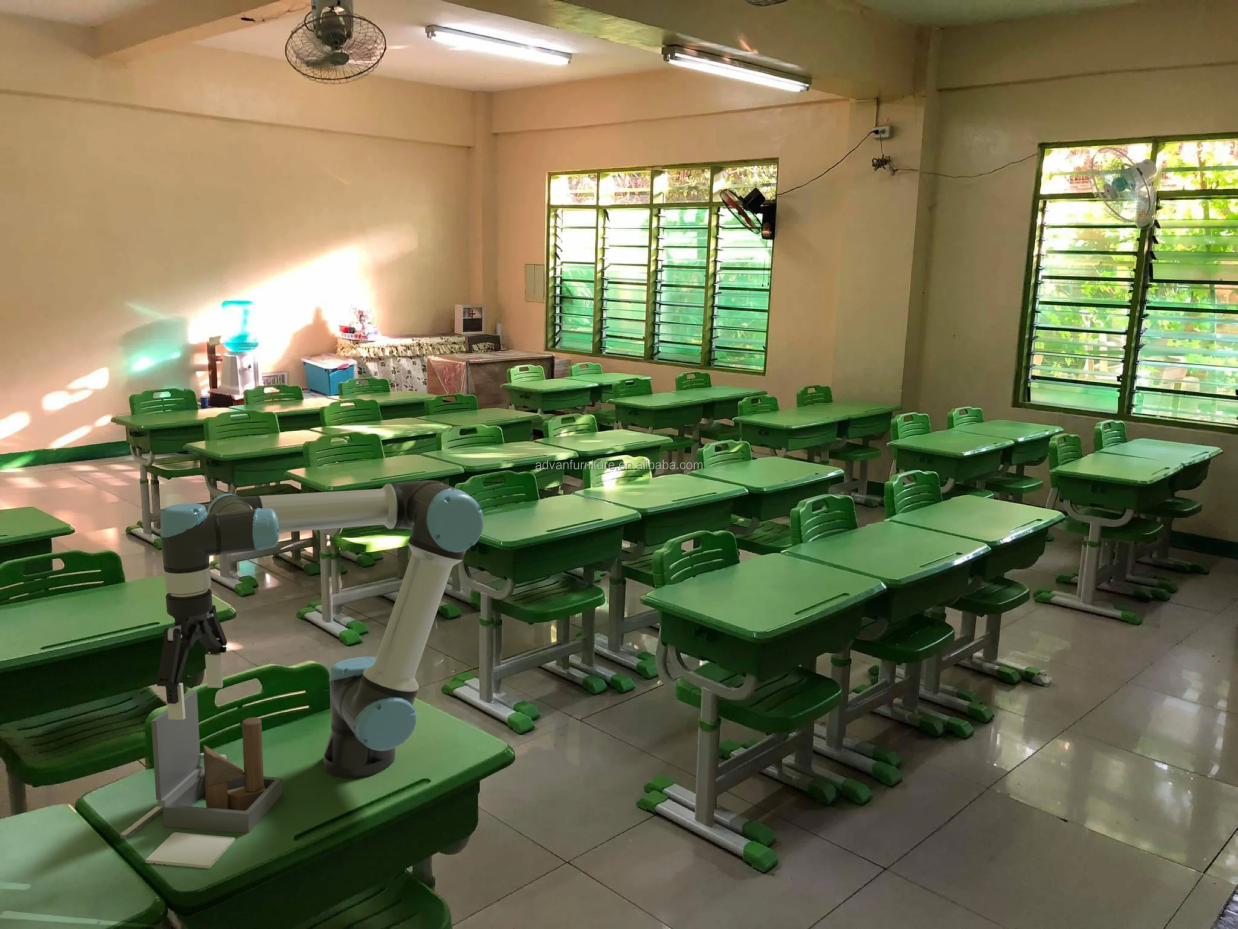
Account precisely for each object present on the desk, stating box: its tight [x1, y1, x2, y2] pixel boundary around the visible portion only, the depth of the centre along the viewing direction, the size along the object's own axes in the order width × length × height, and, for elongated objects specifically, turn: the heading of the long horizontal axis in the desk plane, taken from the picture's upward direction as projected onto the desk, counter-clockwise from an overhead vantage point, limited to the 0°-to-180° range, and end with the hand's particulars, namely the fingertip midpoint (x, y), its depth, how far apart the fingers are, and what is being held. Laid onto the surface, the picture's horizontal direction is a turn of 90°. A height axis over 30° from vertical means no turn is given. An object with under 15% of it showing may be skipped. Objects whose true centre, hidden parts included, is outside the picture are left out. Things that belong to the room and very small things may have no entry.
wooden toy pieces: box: [202, 716, 266, 811], centre depth 186 cm, size 4×11×18 cm, turn 122°
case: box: [150, 690, 284, 833], centre depth 186 cm, size 18×15×21 cm
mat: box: [145, 832, 236, 870], centre depth 173 cm, size 12×9×1 cm
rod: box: [119, 805, 163, 840], centre depth 182 cm, size 12×1×1 cm, turn 169°
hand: (196, 702), depth 173 cm, fingers open, 13 cm apart
